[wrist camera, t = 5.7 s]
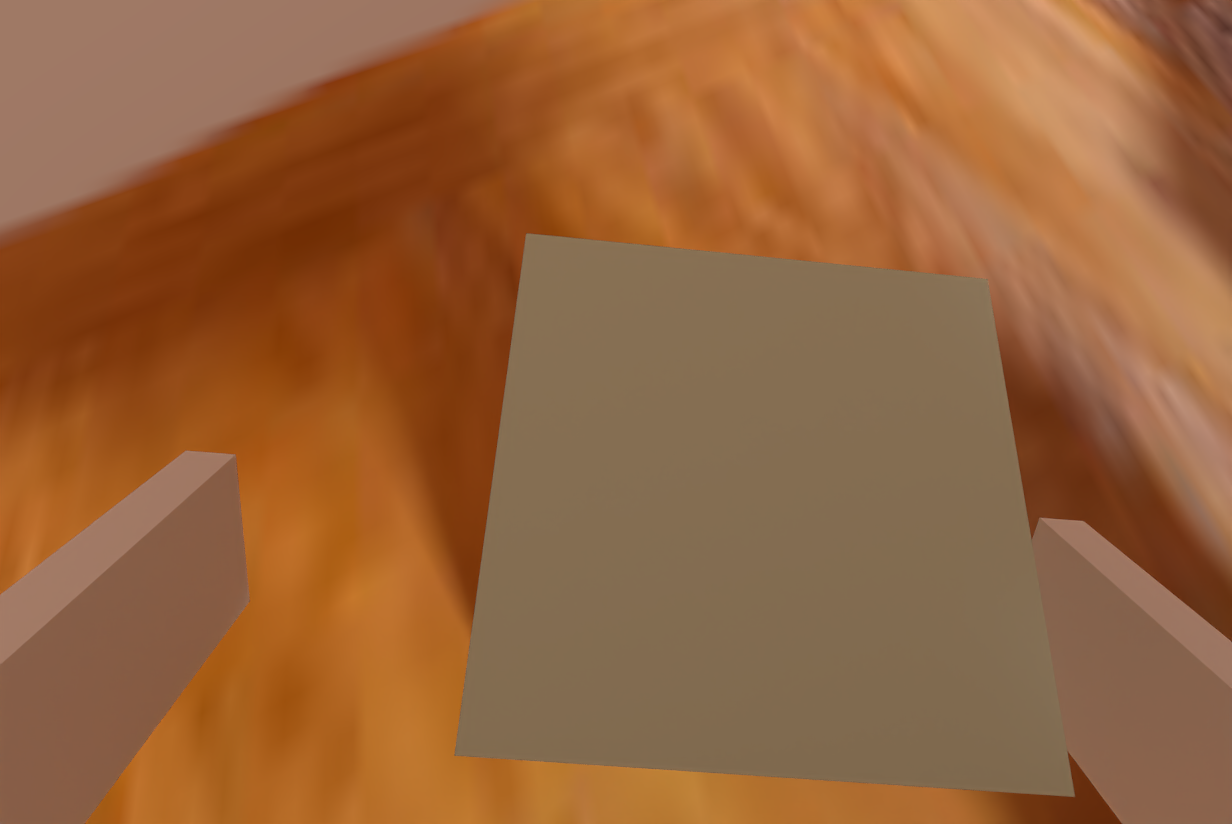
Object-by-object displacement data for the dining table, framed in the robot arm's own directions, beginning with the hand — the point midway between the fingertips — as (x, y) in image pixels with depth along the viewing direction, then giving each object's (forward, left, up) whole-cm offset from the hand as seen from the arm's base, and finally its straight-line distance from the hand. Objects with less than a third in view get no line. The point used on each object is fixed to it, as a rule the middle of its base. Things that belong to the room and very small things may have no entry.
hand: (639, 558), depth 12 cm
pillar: (0, +1, -6) cm, 6 cm away
